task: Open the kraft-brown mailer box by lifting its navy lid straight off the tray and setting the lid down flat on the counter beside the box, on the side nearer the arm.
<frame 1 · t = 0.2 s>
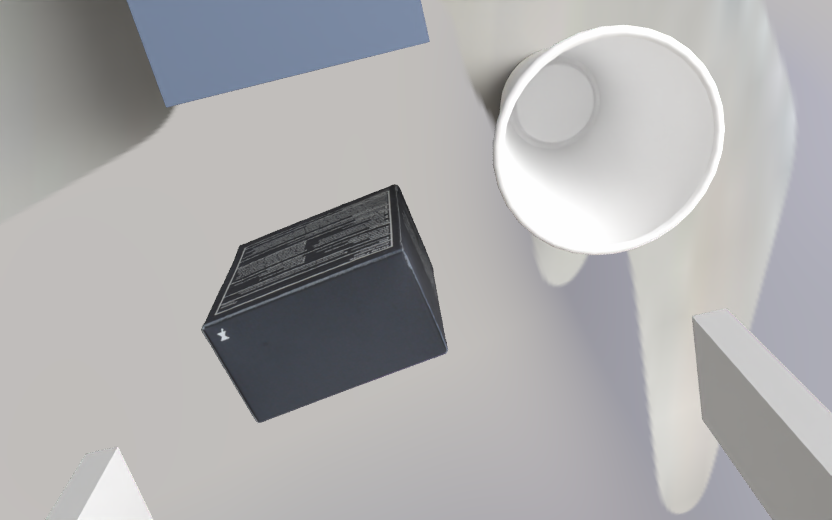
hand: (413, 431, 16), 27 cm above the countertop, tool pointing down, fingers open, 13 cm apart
cup: (552, 102, 41), on the countertop
small box: (338, 258, 44), on the countertop
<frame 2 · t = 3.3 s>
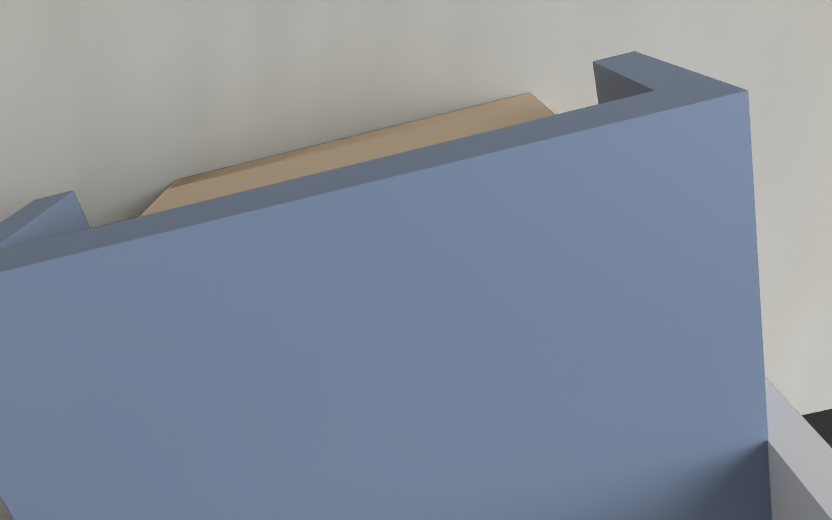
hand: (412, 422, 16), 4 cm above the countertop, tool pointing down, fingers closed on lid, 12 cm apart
tray: (408, 345, 20), on the countertop
lid: (412, 420, 17), point 4 cm above the countertop, touching gripper, tray
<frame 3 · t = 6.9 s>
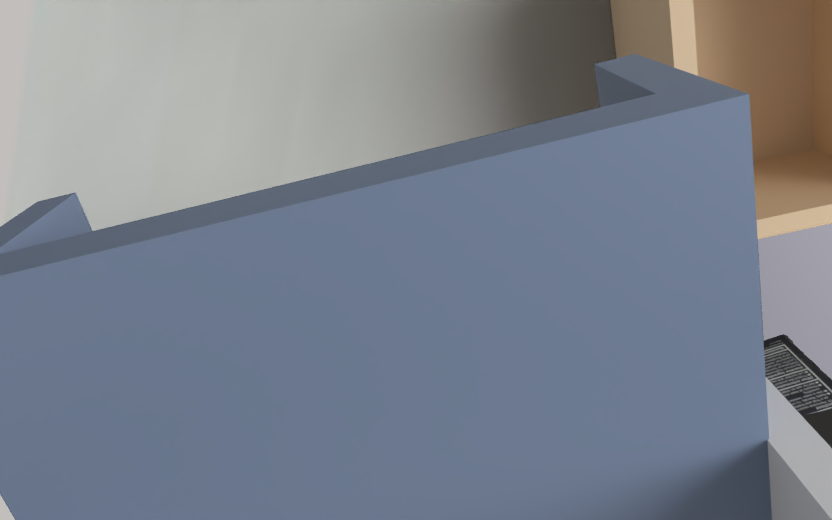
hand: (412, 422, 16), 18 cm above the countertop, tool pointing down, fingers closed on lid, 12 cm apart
tray: (718, 50, 32), on the countertop
small box: (699, 408, 39), on the countertop
lid: (413, 422, 17), point 18 cm above the countertop, touching gripper
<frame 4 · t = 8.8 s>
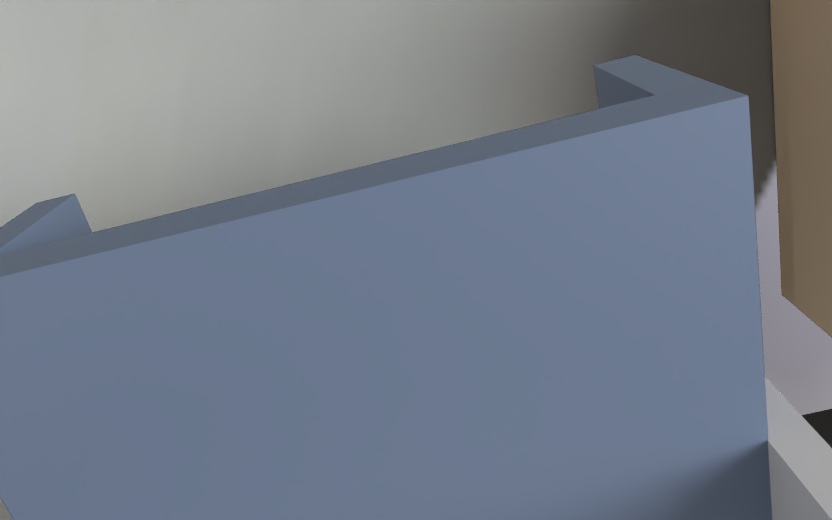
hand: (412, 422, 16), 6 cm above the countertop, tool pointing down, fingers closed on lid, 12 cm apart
lid: (413, 423, 17), point 6 cm above the countertop, touching gripper
when the fingers open (2 cm above the countertop, at t = 10.6 s): lid drops 2 cm, on the countertop.
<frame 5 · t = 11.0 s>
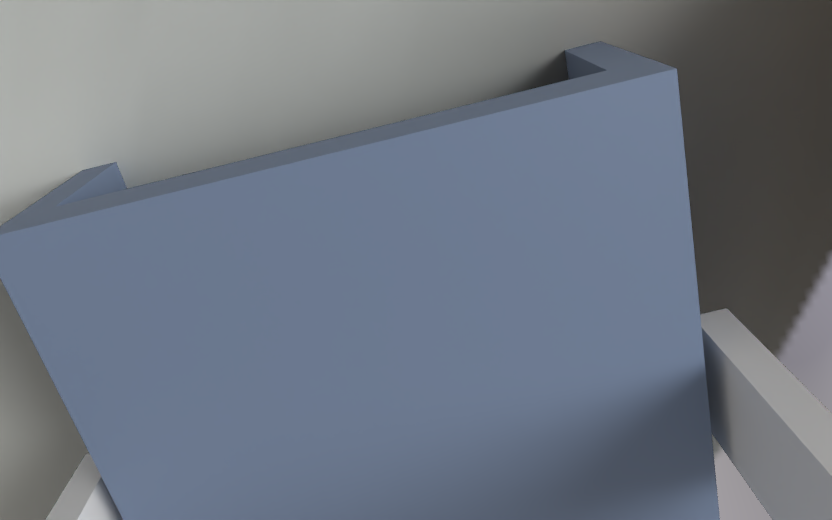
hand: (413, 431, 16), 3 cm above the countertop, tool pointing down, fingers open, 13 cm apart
lid: (409, 366, 19), on the countertop
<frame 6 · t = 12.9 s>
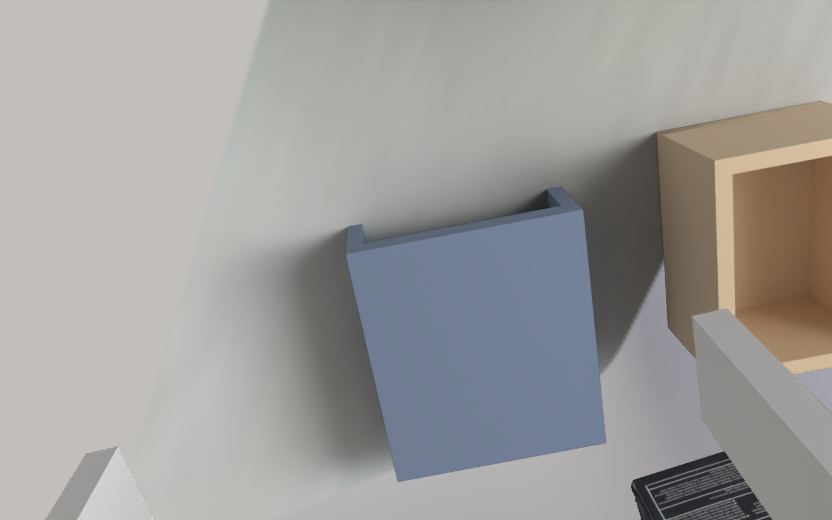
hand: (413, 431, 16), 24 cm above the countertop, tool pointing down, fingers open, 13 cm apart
tray: (740, 220, 41), on the countertop
small box: (712, 490, 48), on the countertop
lid: (472, 317, 42), on the countertop
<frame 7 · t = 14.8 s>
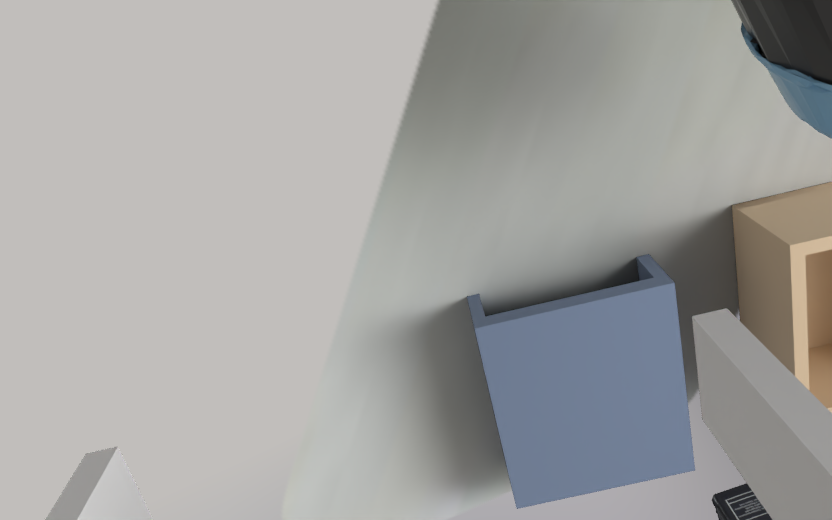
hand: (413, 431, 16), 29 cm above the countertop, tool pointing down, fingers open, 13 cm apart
tray: (806, 273, 47), on the countertop
small box: (784, 500, 55), on the countertop
lid: (572, 365, 49), on the countertop
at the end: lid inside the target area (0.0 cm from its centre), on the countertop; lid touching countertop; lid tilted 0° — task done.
